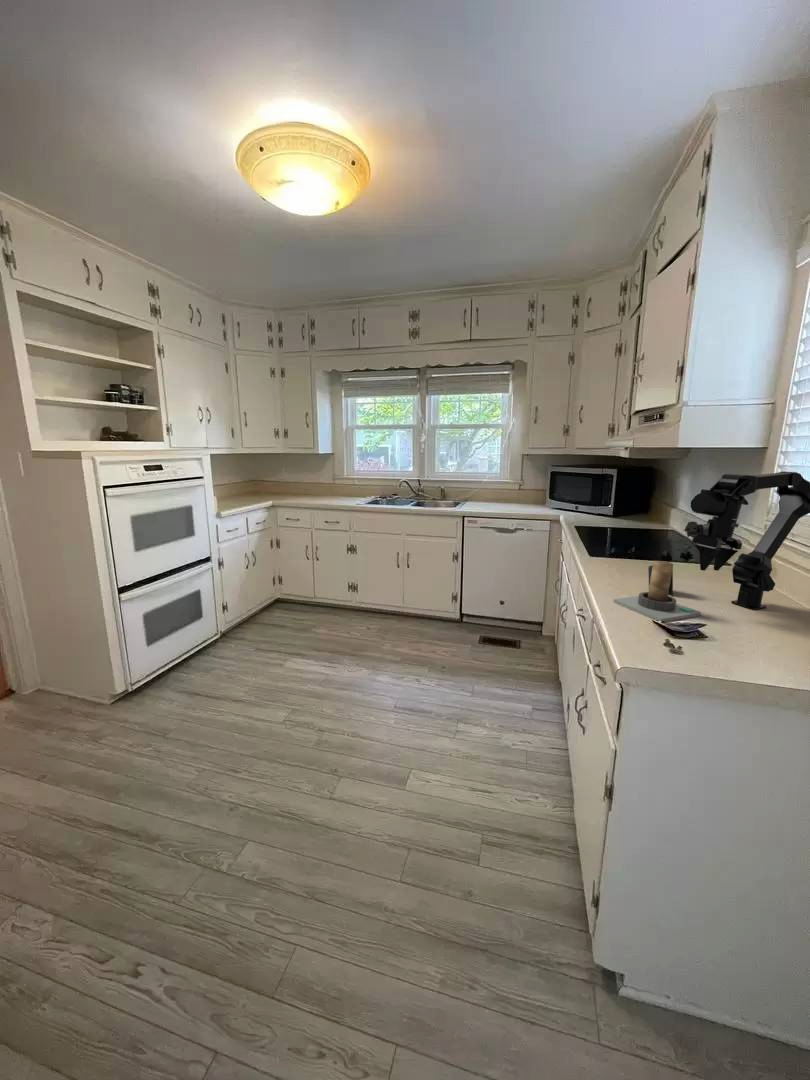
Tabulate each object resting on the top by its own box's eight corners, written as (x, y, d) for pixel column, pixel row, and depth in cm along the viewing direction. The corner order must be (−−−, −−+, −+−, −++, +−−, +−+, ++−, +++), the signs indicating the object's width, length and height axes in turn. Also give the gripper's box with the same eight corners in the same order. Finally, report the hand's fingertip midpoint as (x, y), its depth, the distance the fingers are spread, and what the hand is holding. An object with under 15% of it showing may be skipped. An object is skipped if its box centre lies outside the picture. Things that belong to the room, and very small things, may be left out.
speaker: (675, 591, 142) (676, 561, 140) (672, 596, 138) (674, 565, 136) (649, 588, 147) (650, 559, 145) (646, 593, 143) (647, 563, 141)
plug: (662, 603, 128) (669, 561, 126) (668, 609, 124) (675, 566, 121) (644, 601, 130) (651, 560, 127) (649, 607, 125) (656, 564, 122)
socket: (651, 596, 137) (652, 586, 136) (700, 615, 122) (702, 603, 122) (613, 602, 131) (614, 591, 130) (660, 622, 117) (662, 610, 116)
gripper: (707, 515, 134) (693, 562, 137) (680, 510, 124) (665, 562, 126) (749, 522, 125) (733, 573, 128) (724, 517, 115) (707, 573, 117)
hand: (709, 570), depth 125 cm, fingers open, 9 cm apart
